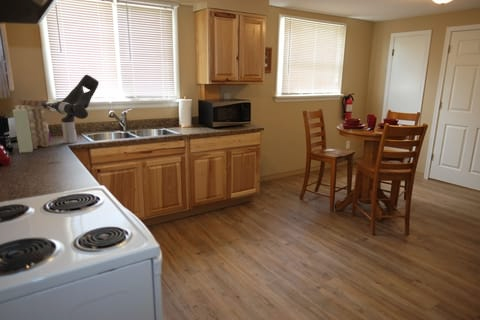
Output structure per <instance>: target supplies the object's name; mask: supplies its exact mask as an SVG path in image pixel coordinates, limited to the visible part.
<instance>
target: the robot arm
mask: <svg viewBox="0 0 480 320" xmlns="http://www.w3.org/2000/svg"><path fill="white" fill-rule="evenodd" d="M98 87H99V81H98V80H97V79H96V78H94V77H92V76H91V75H89V74H85V75H84V76H83V77H82V78H80V81H79V82H78V83H77V85H76V86H75V87H74V88H73V89H72V90H71V91H70V92H69V93H68V95H66V97H65V98H63V99H62V100H59V101H57V102H53V103H52V102H51V103H50V102H49V103H47V104H46V103H42V106H43V108H44V109H48V110H50V109H52V110H53V109H54V110H55V111H56V112H58V113H59V114H61V115H65V114H66V115H65V116H64V117H62V118H61V120H60V121H61V128H62V134H63V135H62V136H63V143H64V144H75V143H77V142H78V136H77V130H76V126H75V118H77V119H79V120H85V119H87V117H88V116H89V112H88V110H87V109H88V108H89V105H90V102H91V99H92V98H93V96H94V94H95V92H96V90H97V89H98ZM84 88H86V89H87V90H89V91H84Z"/></svg>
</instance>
